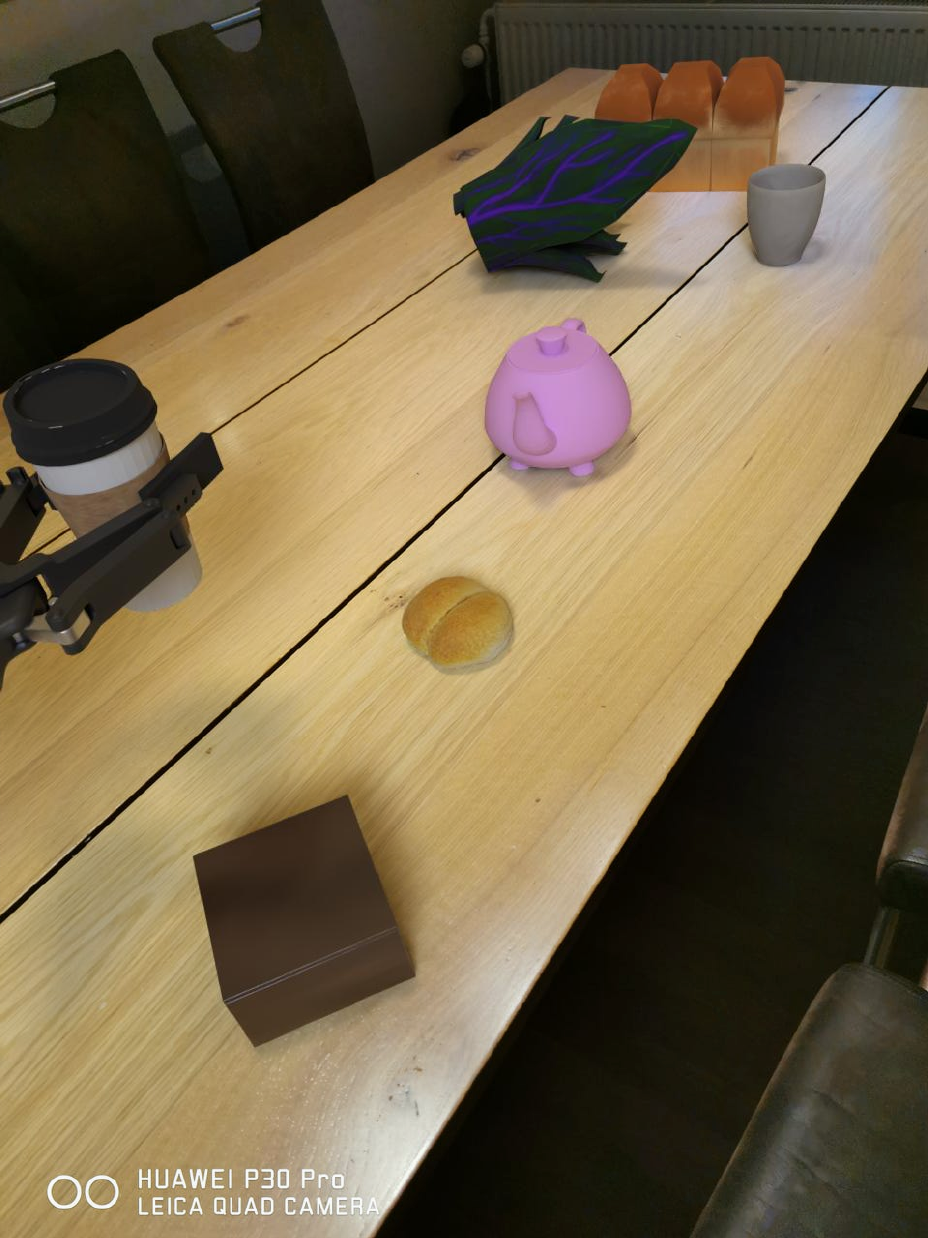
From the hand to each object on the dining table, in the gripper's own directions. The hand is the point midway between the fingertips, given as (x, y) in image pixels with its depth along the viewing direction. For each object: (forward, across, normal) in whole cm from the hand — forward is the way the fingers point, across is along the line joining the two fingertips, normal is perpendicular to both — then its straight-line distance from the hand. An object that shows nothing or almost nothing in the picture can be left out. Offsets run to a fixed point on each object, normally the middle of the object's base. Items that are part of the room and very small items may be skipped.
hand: (160, 443), depth 62 cm
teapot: (+35, +13, -22) cm, 44 cm away
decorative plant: (+77, +1, -22) cm, 80 cm away
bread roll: (+9, +14, -22) cm, 28 cm away
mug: (+83, +26, -22) cm, 90 cm away
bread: (+108, +8, -22) cm, 111 cm away
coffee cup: (-5, 0, -8) cm, 10 cm away
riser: (-19, +16, -22) cm, 33 cm away
